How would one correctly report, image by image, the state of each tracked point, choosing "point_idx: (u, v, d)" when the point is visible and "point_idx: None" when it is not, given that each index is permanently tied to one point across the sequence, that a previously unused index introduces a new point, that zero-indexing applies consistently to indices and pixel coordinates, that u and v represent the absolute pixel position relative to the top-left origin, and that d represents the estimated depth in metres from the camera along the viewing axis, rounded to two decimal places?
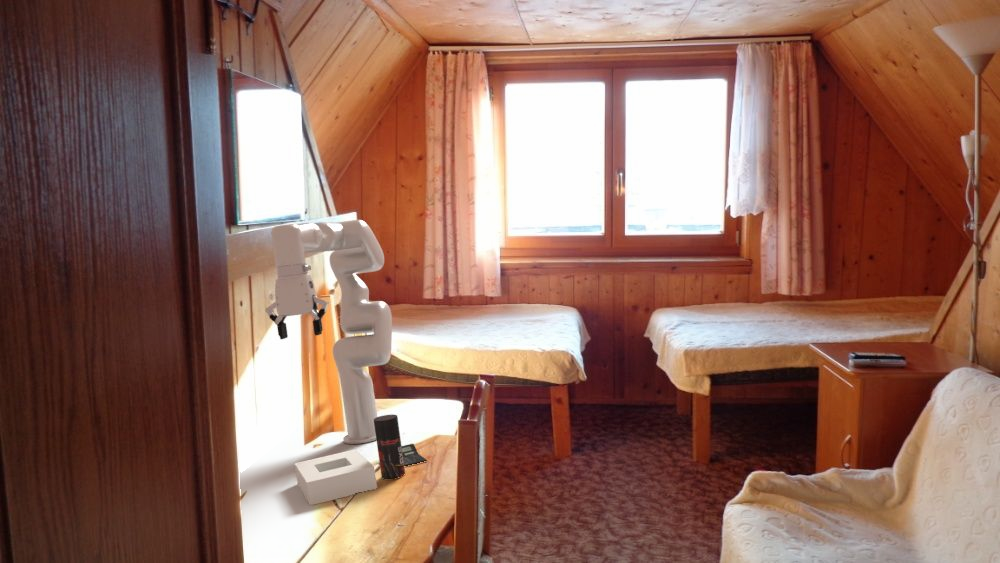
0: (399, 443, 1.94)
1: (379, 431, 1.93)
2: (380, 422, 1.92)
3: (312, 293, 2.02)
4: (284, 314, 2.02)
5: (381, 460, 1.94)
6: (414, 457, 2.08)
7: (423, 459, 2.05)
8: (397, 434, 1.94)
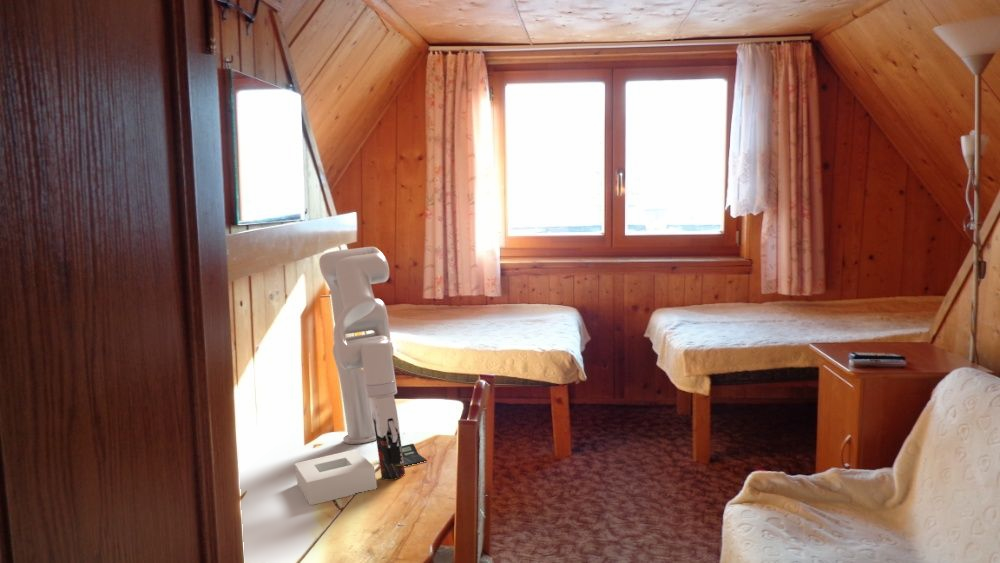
0: (399, 443, 1.94)
1: None
2: None
3: None
4: None
5: (381, 460, 1.94)
6: (414, 457, 2.08)
7: (423, 459, 2.05)
8: (397, 434, 1.94)
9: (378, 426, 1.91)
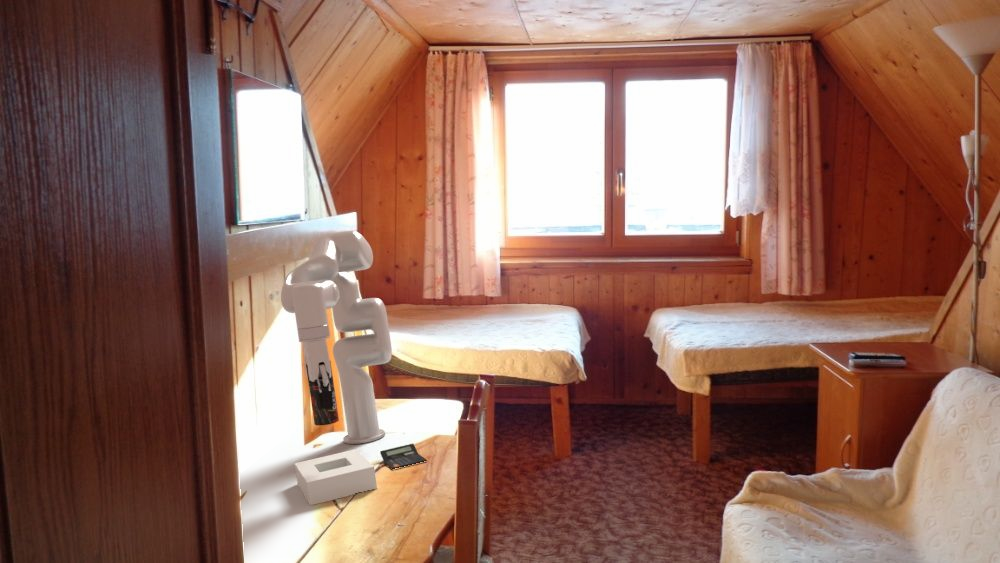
0: (332, 388, 1.91)
1: None
2: None
3: None
4: None
5: (313, 405, 1.90)
6: (414, 457, 2.08)
7: (423, 459, 2.05)
8: (330, 379, 1.90)
9: (309, 370, 1.88)
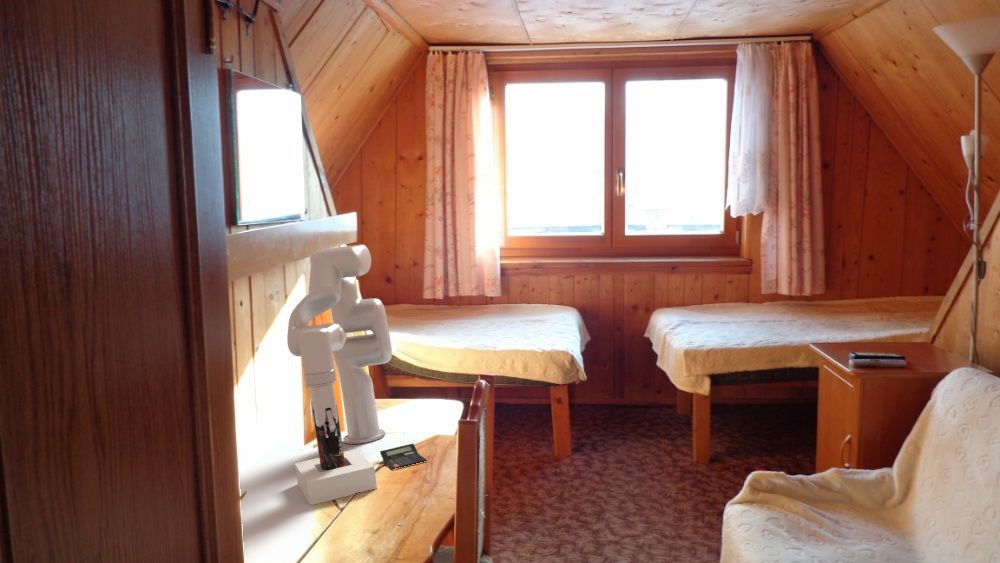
0: (338, 433, 1.92)
1: None
2: None
3: None
4: None
5: (320, 450, 1.91)
6: (414, 457, 2.09)
7: (423, 459, 2.05)
8: (336, 424, 1.91)
9: (316, 415, 1.88)
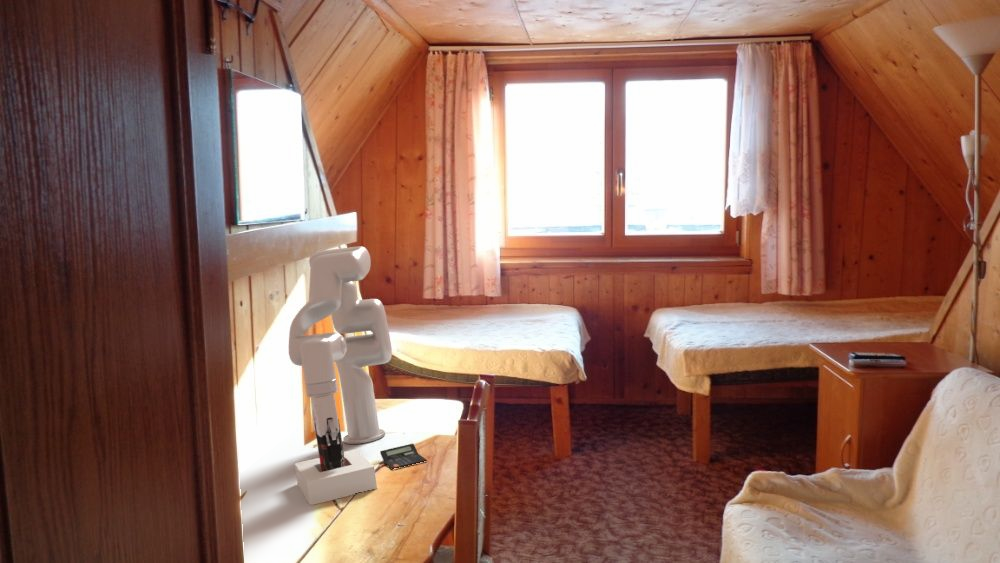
0: (340, 447, 1.92)
1: None
2: None
3: None
4: None
5: (322, 464, 1.91)
6: (414, 457, 2.09)
7: (423, 459, 2.05)
8: None
9: (317, 425, 1.88)
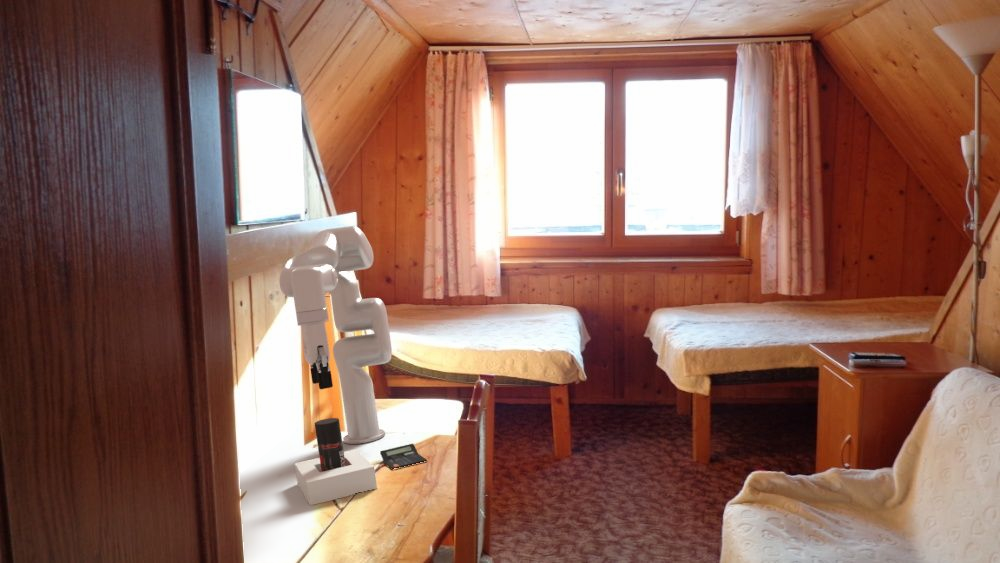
0: (340, 447, 1.92)
1: (319, 435, 1.90)
2: (321, 426, 1.90)
3: None
4: None
5: (322, 464, 1.91)
6: (414, 457, 2.09)
7: (423, 459, 2.06)
8: (338, 438, 1.92)
9: (308, 353, 1.88)
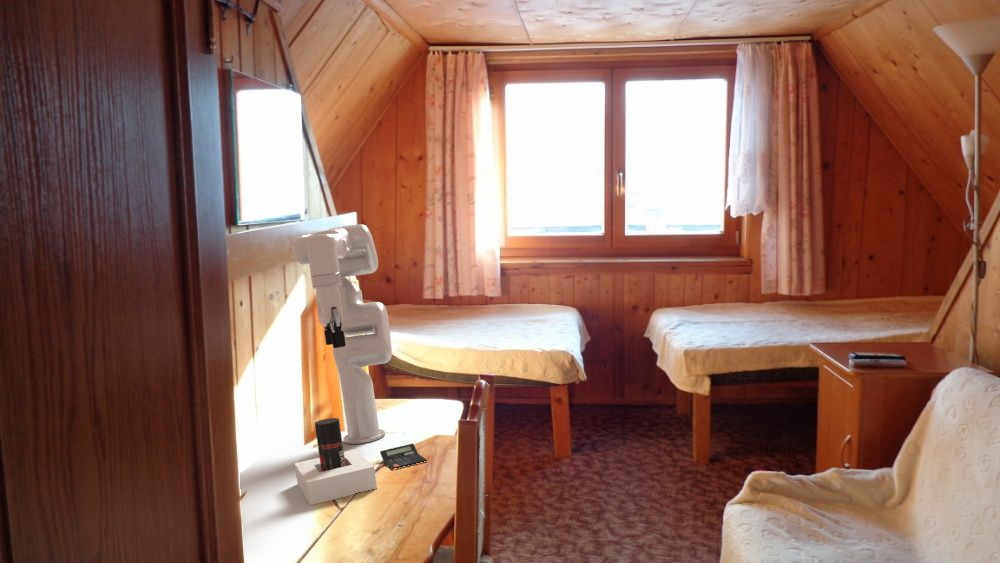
0: (340, 447, 1.92)
1: (319, 435, 1.90)
2: (321, 426, 1.90)
3: None
4: None
5: (322, 464, 1.91)
6: (414, 457, 2.09)
7: (423, 459, 2.06)
8: (338, 438, 1.92)
9: (322, 314, 2.00)
